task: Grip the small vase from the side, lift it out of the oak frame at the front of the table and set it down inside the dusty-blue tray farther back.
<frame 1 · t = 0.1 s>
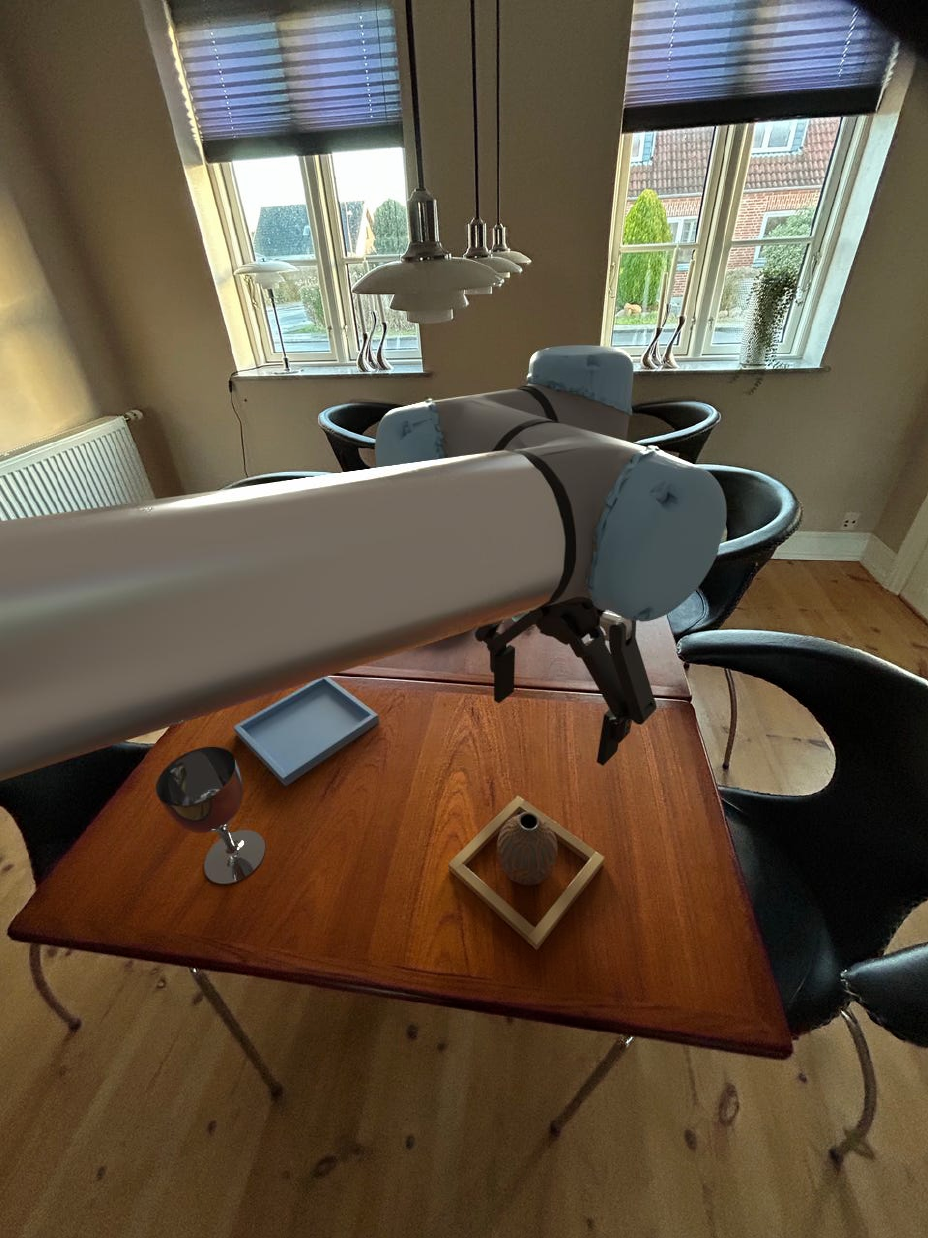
hand: (551, 724, 58), 17 cm above the table, tool pointing down, fingers open, 13 cm apart
vase: (526, 867, 63), resting in oak frame
planter bowl: (446, 521, 147), on the table
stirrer: (546, 549, 131), on the table
blue tray: (308, 728, 82), on the table
oak frame: (526, 866, 62), on the table
cutlery set: (466, 609, 110), on the table
wine glass: (235, 857, 65), on the table
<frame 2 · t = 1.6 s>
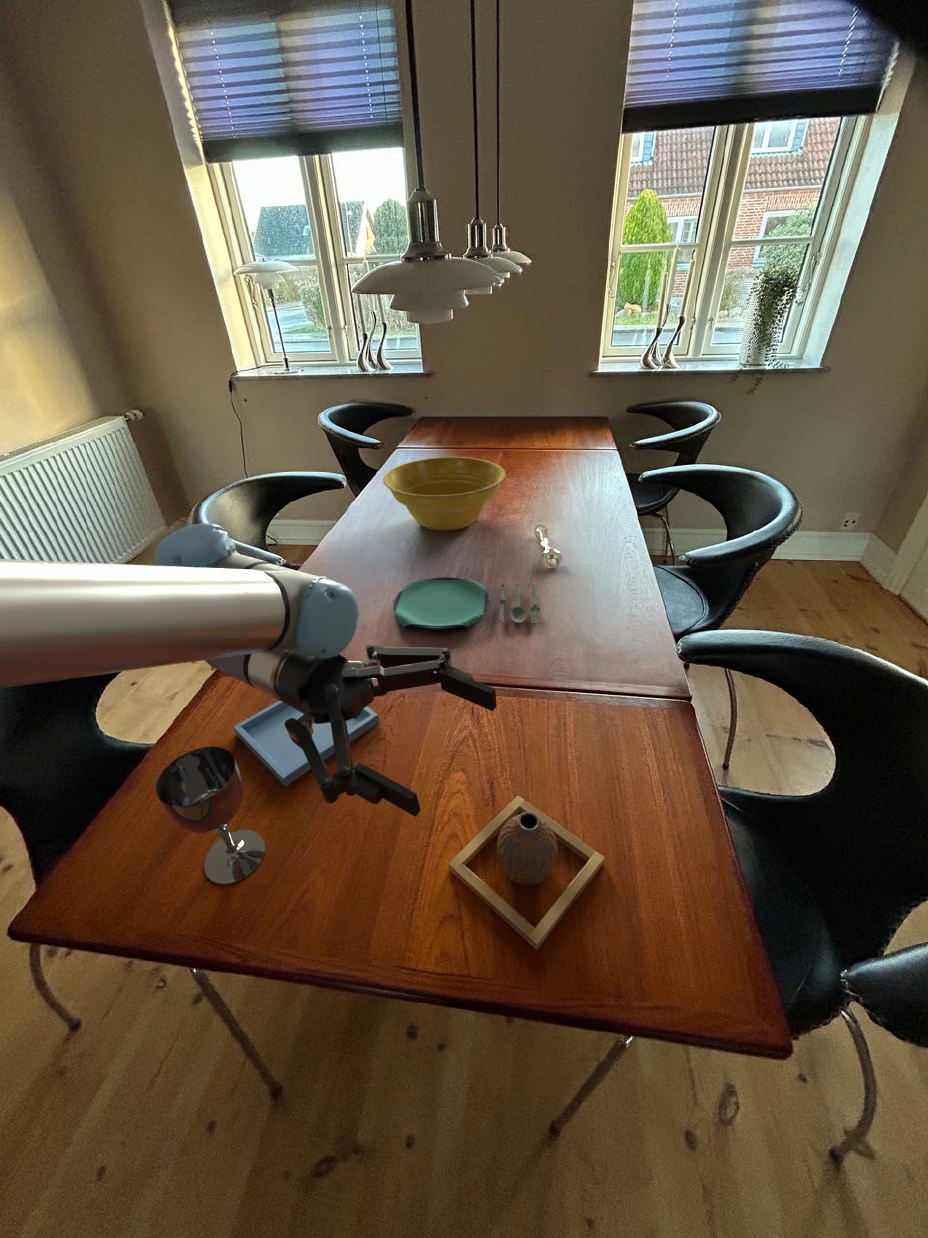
hand: (458, 748, 50), 21 cm above the table, tool horizontal, fingers open, 13 cm apart
nothing on the table moved.
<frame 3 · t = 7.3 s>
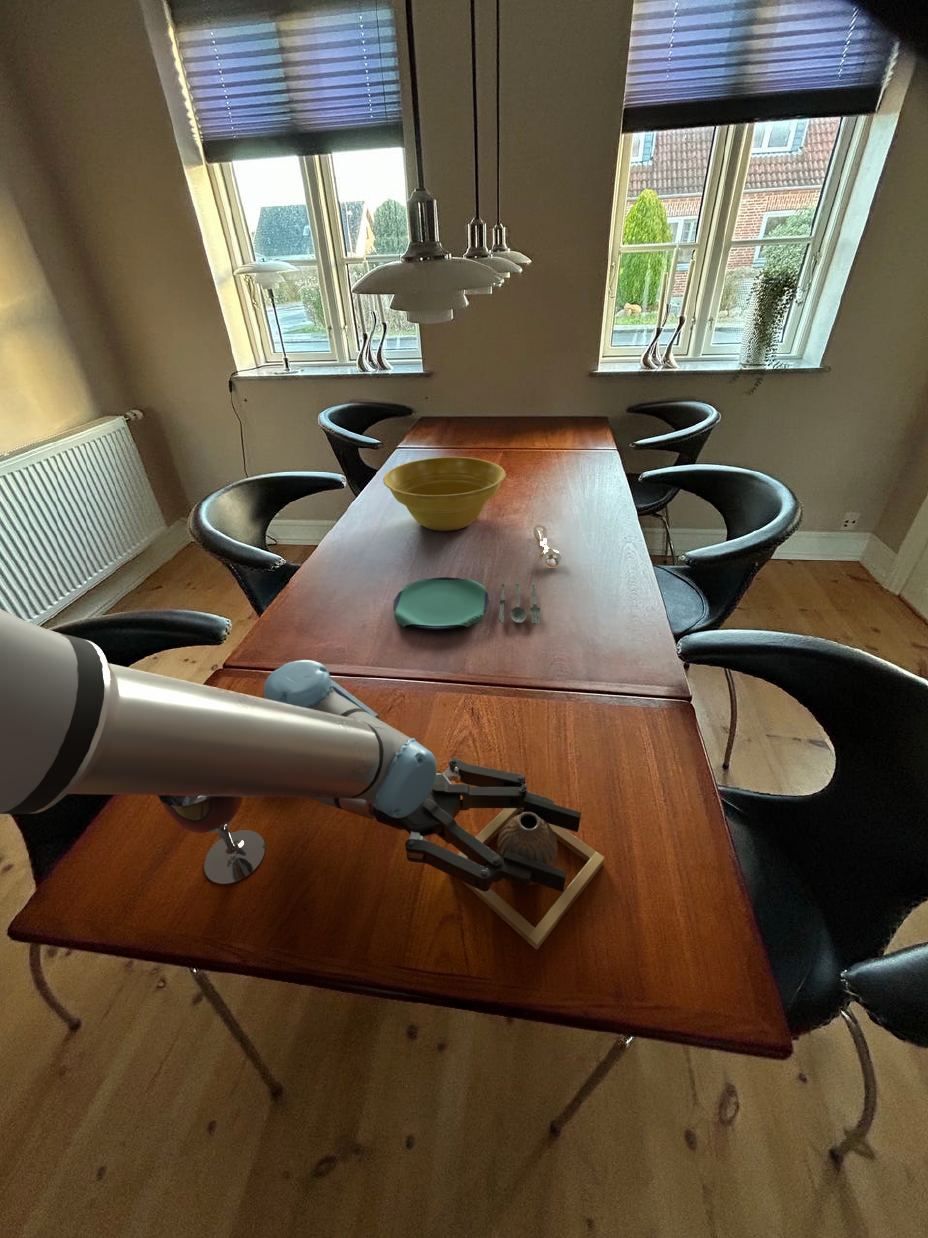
hand: (572, 850, 58), 6 cm above the table, tool horizontal, fingers closed on vase, 7 cm apart
vase: (526, 867, 63), resting in oak frame, touching gripper
everything else where it was.
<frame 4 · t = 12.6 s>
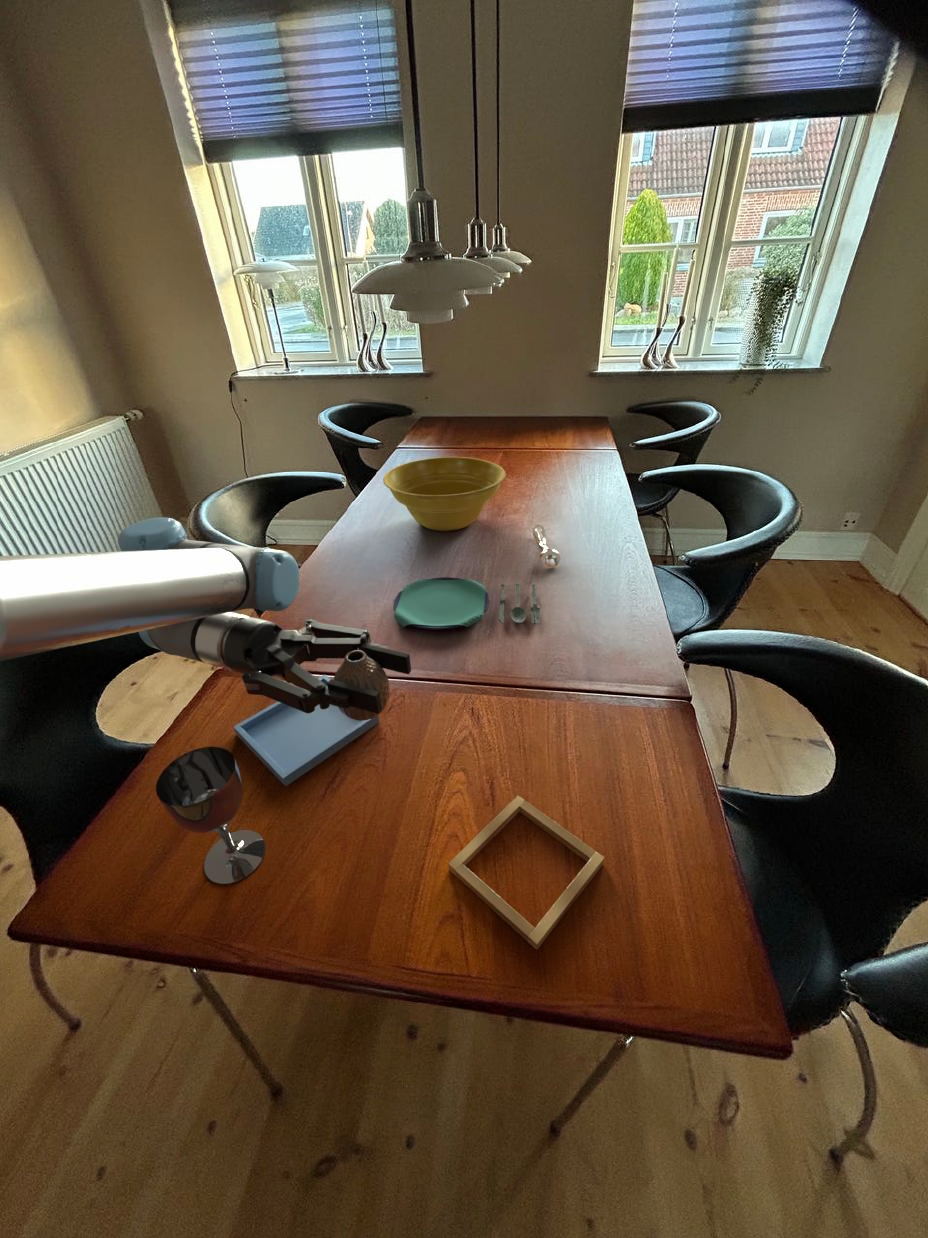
hand: (394, 682, 63), 18 cm above the table, tool horizontal, fingers closed on vase, 7 cm apart
vase: (365, 710, 68), point 12 cm above the table, touching gripper
everything else where it was.
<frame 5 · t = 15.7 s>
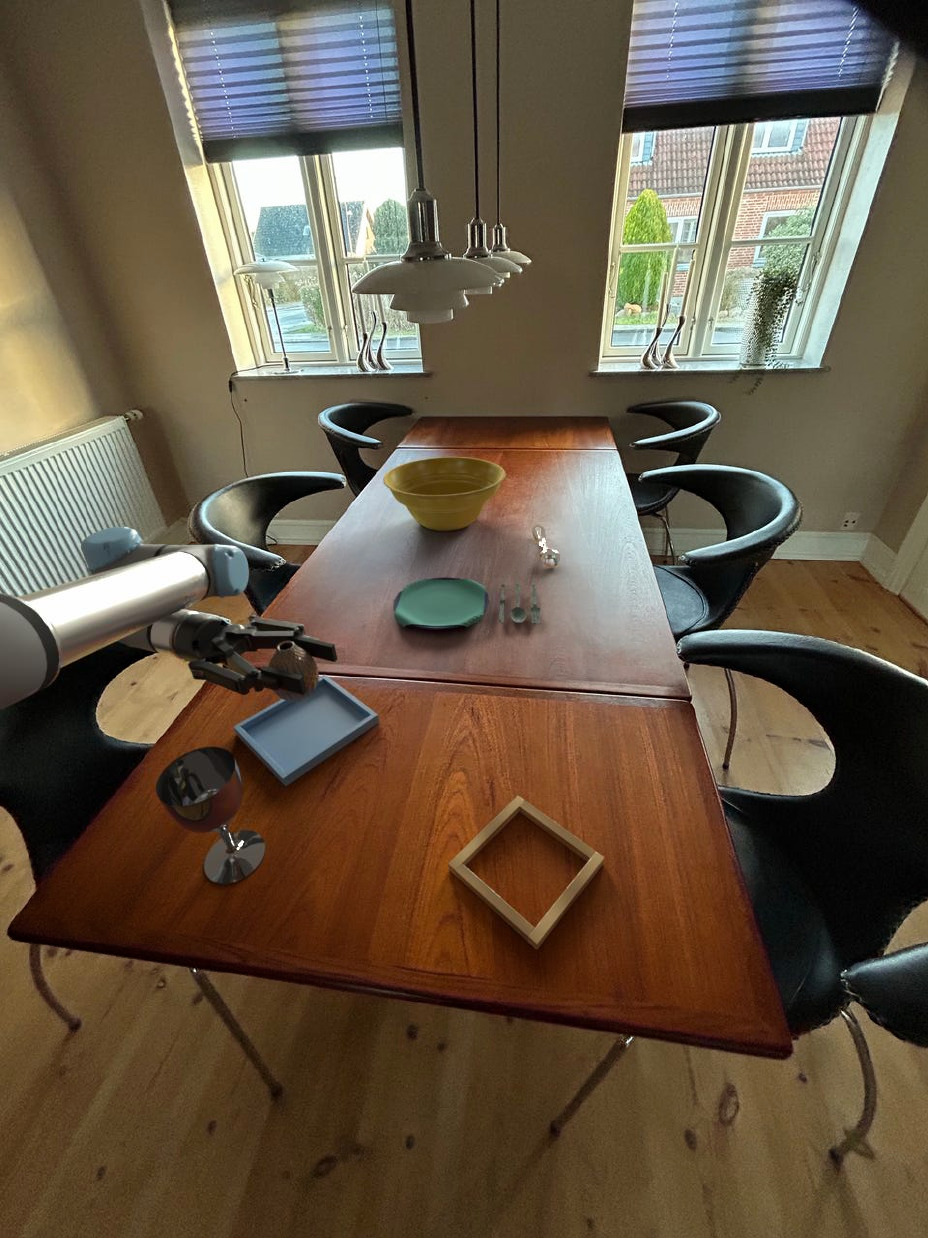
hand: (319, 668, 73), 13 cm above the table, tool horizontal, fingers closed on vase, 7 cm apart
vase: (298, 694, 78), point 7 cm above the table, touching gripper
everything else where it was.
when the fingers open (6 cm above the table, at t = 18.0 s): vase stays where it is, resting on blue tray.
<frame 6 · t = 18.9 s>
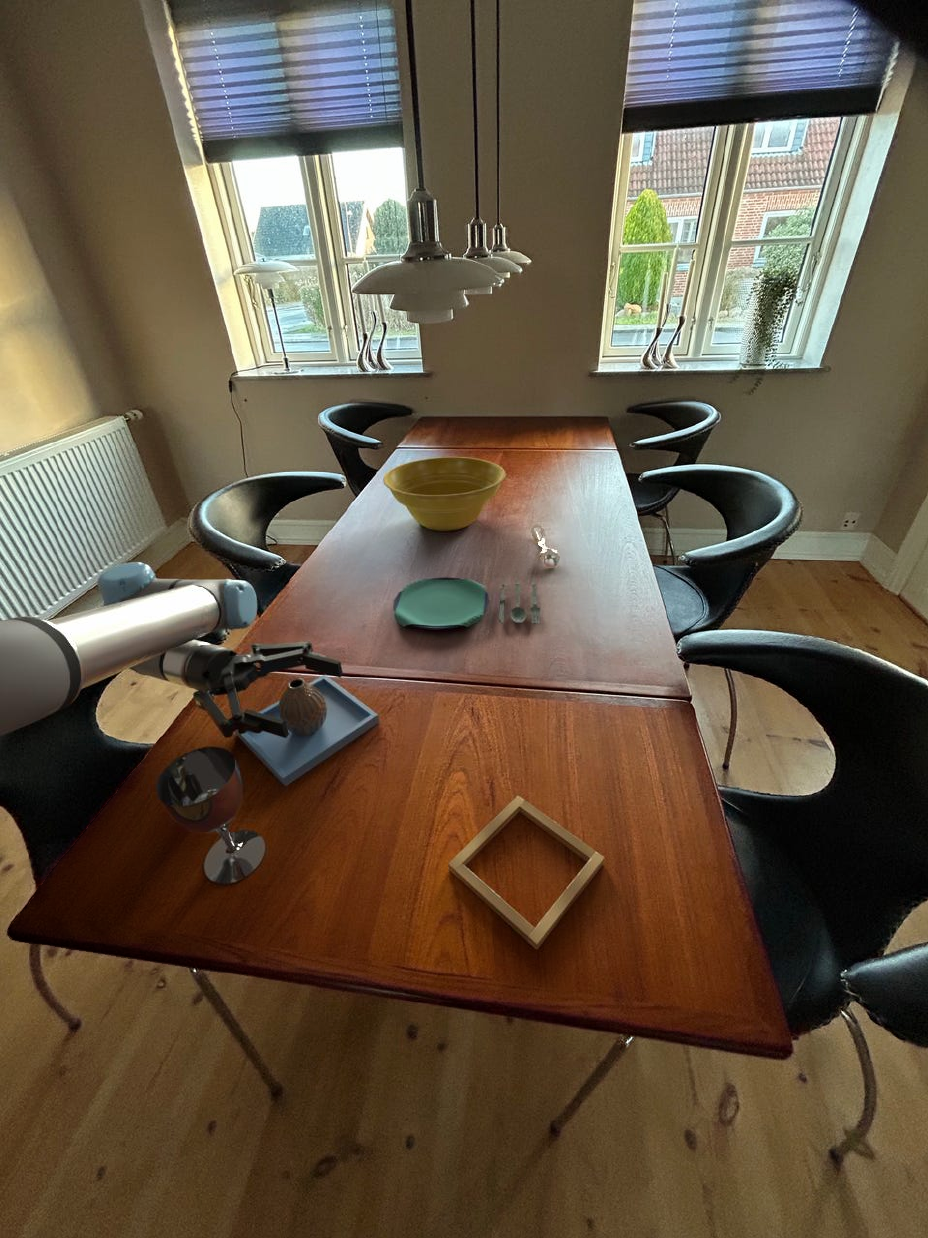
hand: (314, 697, 77), 7 cm above the table, tool horizontal, fingers open, 13 cm apart
vase: (308, 727, 82), resting on blue tray
everything else where it was.
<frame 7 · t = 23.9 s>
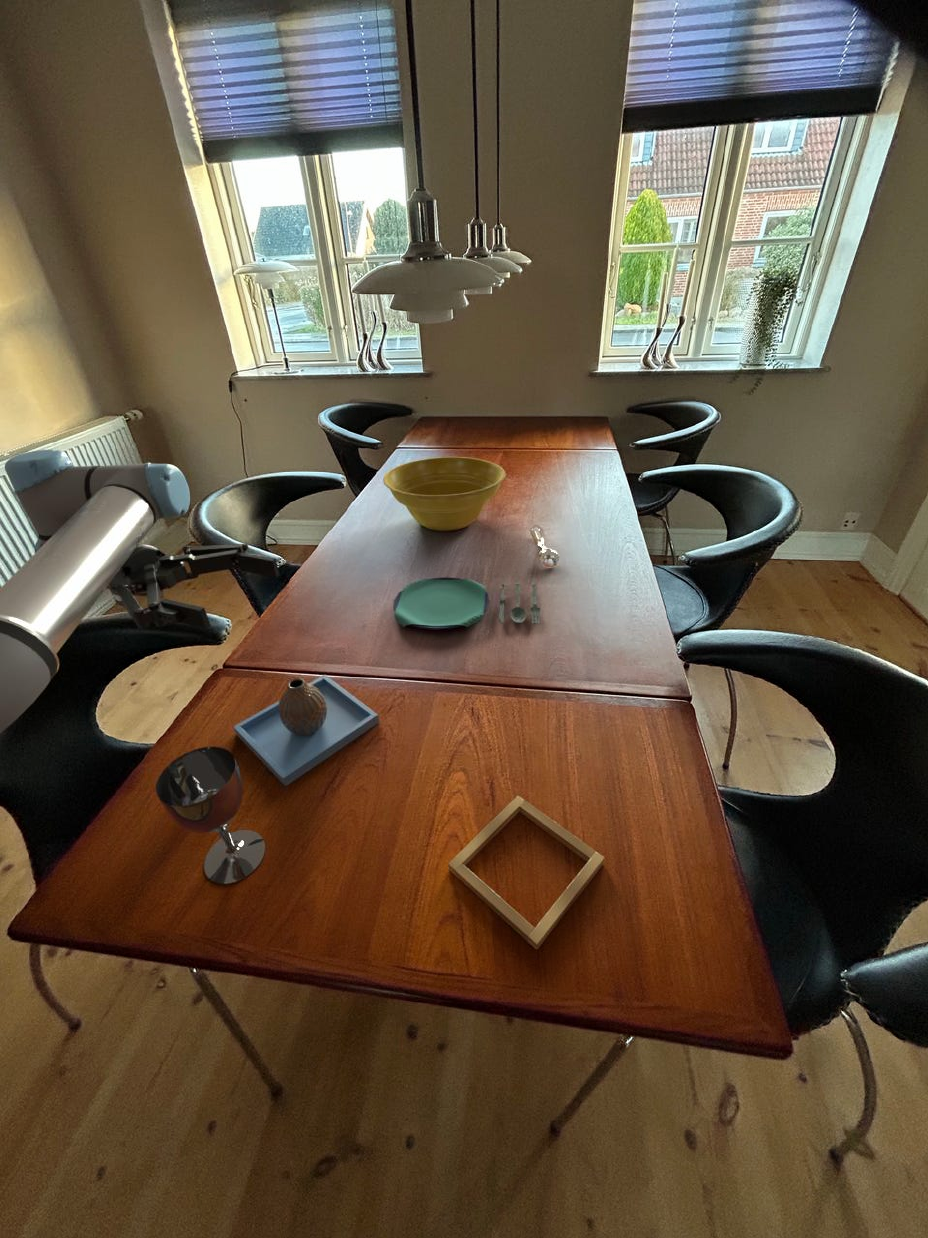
hand: (243, 591, 71), 24 cm above the table, tool horizontal, fingers open, 13 cm apart
nothing on the table moved.
at the end: vase inside the target area in the blue tray (0.0 cm from its centre), point 0.3 cm above the blue tray's base; vase tilted 0°; the gripper is holding nothing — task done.
